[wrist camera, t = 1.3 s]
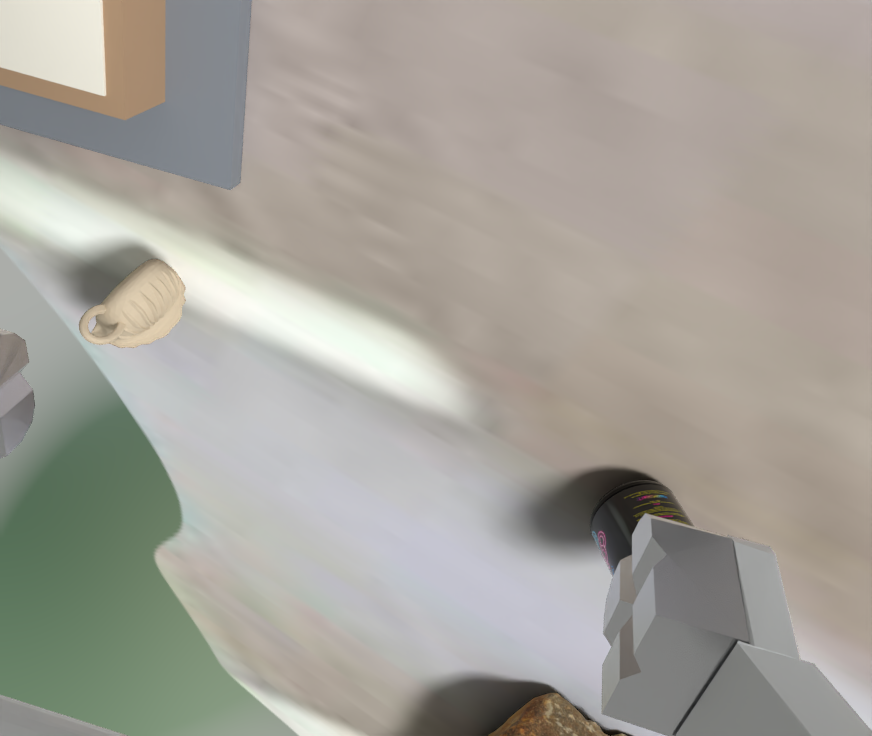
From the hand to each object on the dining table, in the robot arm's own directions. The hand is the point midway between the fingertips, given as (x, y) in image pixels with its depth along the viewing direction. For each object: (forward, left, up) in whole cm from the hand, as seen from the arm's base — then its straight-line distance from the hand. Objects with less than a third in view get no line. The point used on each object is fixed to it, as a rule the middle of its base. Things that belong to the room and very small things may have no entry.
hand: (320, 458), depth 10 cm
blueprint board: (+5, -26, -38) cm, 46 cm away
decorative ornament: (+23, -22, -38) cm, 50 cm away
